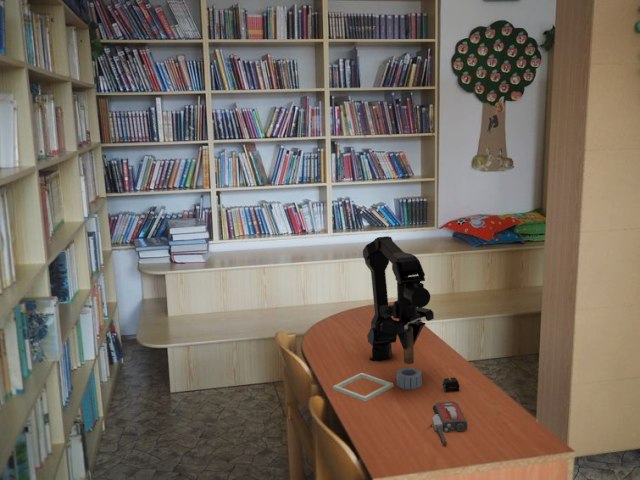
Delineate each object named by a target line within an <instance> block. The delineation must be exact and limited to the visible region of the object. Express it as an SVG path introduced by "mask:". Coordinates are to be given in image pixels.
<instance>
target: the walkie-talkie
mask: <svg viewBox="0 0 640 480" xmlns="http://www.w3.org/2000/svg"><path fill="white" fill-rule="evenodd" d="M432 410H433V412H434V415H433V416H432V419H431V420H432V421H431V422H432V427H433V430H434V432H438V433H437V434H438V435H439V437H440V439H441V441H442V444H444V445H447V443H448V441H447V438H446V437H445V434H444V432H445V433H447V432H463V431H467V430H468V421H467V419H466V417H465V416H464V413H463V411H462V409H461V407H460V405H459V404H458V403H457V402H455V401H441V402H440V401H439V402H436V403H435V404H434V405H433V406H432Z"/></svg>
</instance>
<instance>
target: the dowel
mask: <svg viewBox="0 0 640 480" xmlns="http://www.w3.org/2000/svg"><path fill="white" fill-rule="evenodd" d="M408 329H410V330H411V334H410V338H409V343H408V347H407V349H406V350H405V349H403V363H404V364H405V365H413V364H415V355H414V353H415V352H414V346H413V327H411V326H408Z"/></svg>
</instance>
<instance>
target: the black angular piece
mask: <svg viewBox="0 0 640 480" xmlns="http://www.w3.org/2000/svg"><path fill="white" fill-rule="evenodd" d="M441 386H442V390H443V391H444V393H445V394H446V393H447V392H448V393H450V391H449V390H448V389H451V388H452V389H456V390H454V392H460V383H459V380H458V379H457V378H456V377H450V378H449V377H446V378H443V381H442V385H441Z"/></svg>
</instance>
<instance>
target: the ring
mask: <svg viewBox="0 0 640 480" xmlns="http://www.w3.org/2000/svg"><path fill="white" fill-rule="evenodd" d="M422 375H423V374H422V371H421V370H420V369H418V368H414V367H403V368H399V369H398V370H397V371H396V386H397V387H398V388H400V389H403V390H416V389H419V388H421V387H422V385H423V383H422V381H423V380H422V379H423V378H422V377H423V376H422Z"/></svg>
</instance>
